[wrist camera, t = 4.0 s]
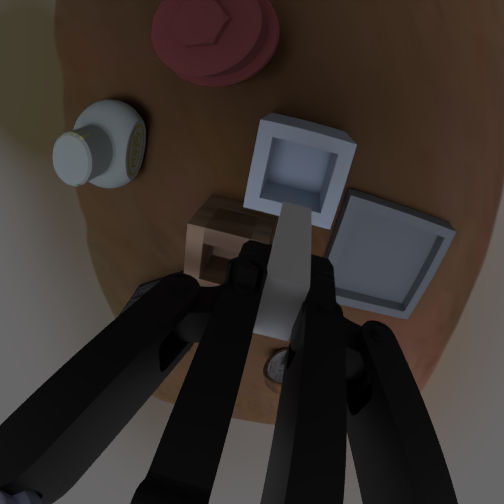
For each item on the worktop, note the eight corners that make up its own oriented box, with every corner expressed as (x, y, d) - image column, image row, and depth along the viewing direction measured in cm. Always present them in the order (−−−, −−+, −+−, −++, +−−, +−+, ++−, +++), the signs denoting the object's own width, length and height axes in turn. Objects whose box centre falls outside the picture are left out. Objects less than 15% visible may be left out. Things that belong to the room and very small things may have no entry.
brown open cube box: (211, 194, 35) (187, 223, 29) (277, 210, 35) (268, 244, 28) (204, 250, 40) (182, 286, 33) (263, 266, 39) (252, 306, 32)
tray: (348, 187, 32) (350, 195, 30) (448, 222, 31) (456, 231, 29) (313, 285, 39) (312, 297, 37) (403, 307, 38) (407, 319, 36)
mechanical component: (255, 103, 29) (177, 64, 28) (304, 28, 24) (221, -9, 22) (224, 111, 18) (113, 59, 17) (300, -8, 13) (175, -49, 12)
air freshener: (100, 95, 30) (45, 105, 22) (155, 101, 30) (104, 111, 22) (94, 172, 36) (46, 200, 28) (143, 185, 36) (99, 217, 28)
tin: (269, 358, 48) (262, 399, 41) (265, 345, 47) (256, 387, 40) (360, 349, 44) (363, 392, 37) (359, 336, 43) (364, 380, 36)
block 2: (272, 112, 29) (260, 119, 22) (345, 131, 29) (356, 144, 22) (257, 180, 33) (242, 207, 27) (326, 198, 33) (329, 229, 26)
